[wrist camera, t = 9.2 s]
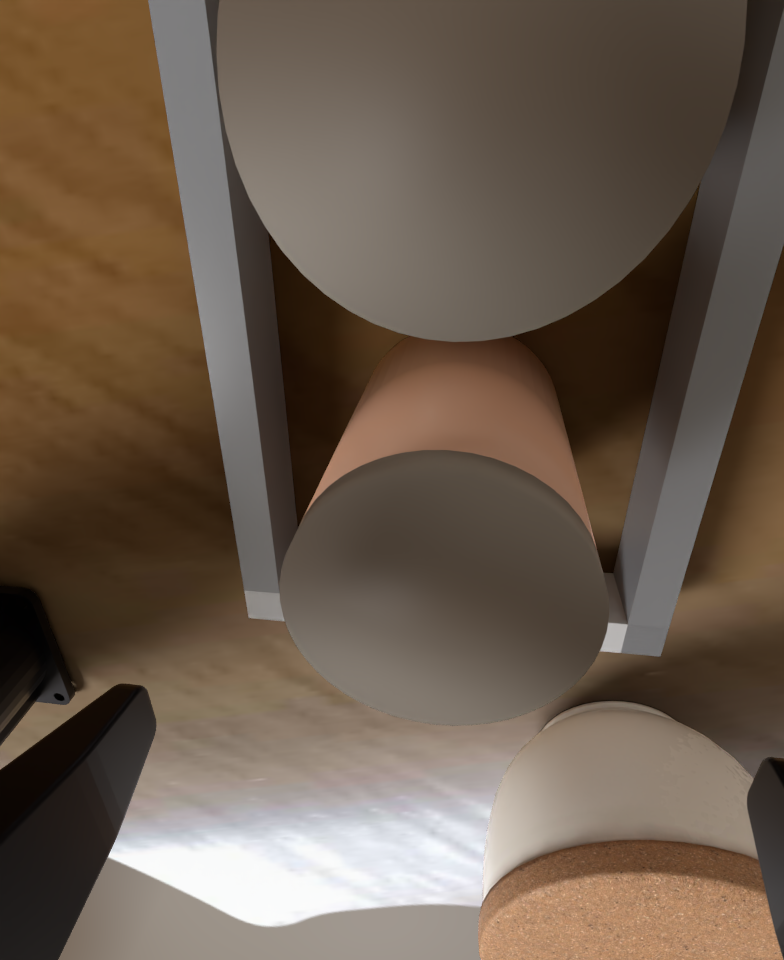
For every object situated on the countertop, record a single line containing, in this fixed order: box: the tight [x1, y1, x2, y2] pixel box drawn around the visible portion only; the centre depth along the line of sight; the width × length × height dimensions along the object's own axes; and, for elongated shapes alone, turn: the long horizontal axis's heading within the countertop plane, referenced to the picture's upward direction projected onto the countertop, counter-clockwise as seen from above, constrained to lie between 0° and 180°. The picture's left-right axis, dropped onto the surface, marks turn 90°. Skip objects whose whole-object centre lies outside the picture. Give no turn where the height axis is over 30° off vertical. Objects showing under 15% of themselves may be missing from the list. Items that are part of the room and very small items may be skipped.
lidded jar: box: [478, 701, 783, 960], centre depth 21 cm, size 11×11×9 cm
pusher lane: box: [148, 0, 784, 657], centre depth 15 cm, size 24×13×3 cm, turn 0°
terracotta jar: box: [279, 336, 609, 726], centre depth 15 cm, size 6×6×9 cm
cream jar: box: [216, 0, 747, 342], centre depth 11 cm, size 6×6×9 cm
